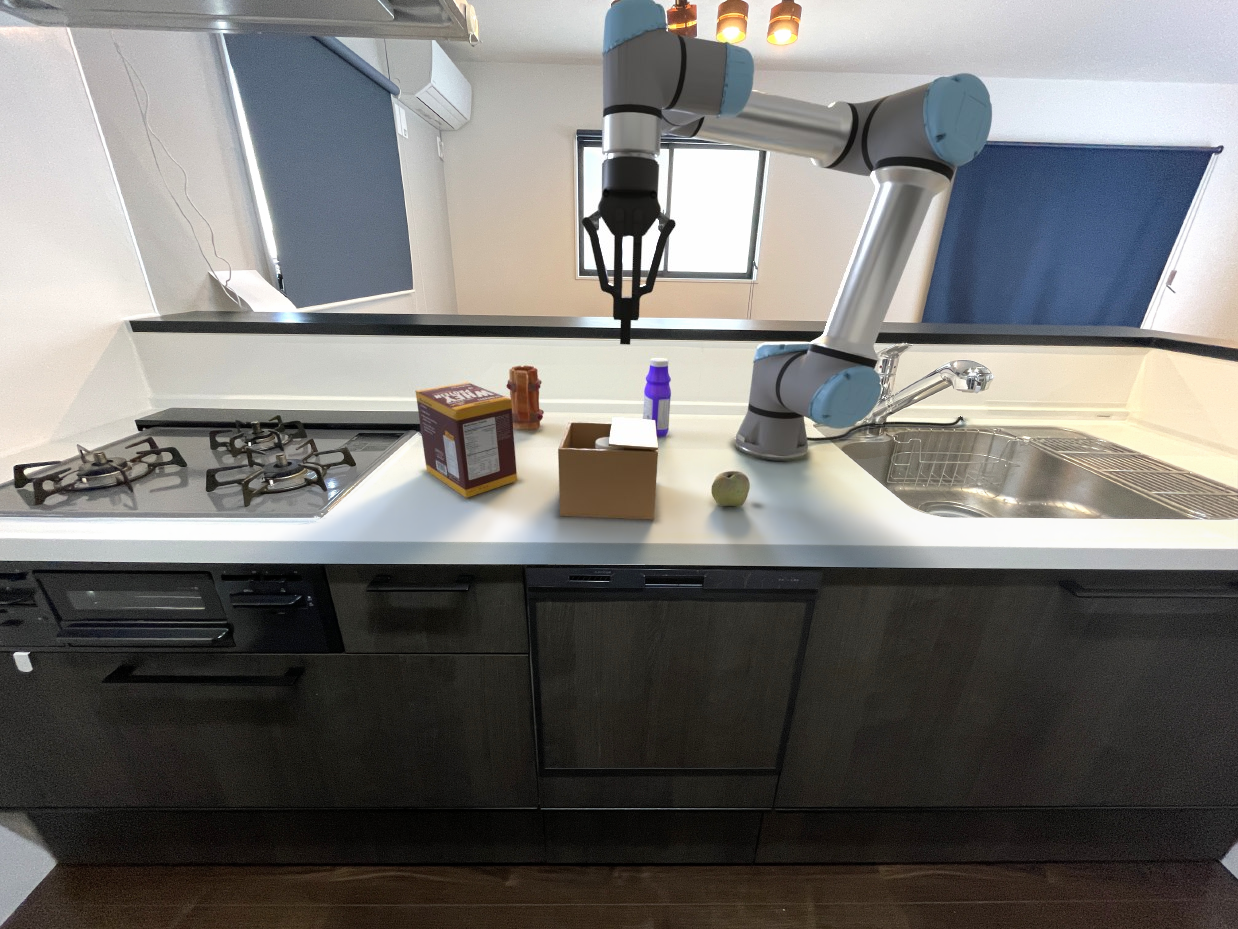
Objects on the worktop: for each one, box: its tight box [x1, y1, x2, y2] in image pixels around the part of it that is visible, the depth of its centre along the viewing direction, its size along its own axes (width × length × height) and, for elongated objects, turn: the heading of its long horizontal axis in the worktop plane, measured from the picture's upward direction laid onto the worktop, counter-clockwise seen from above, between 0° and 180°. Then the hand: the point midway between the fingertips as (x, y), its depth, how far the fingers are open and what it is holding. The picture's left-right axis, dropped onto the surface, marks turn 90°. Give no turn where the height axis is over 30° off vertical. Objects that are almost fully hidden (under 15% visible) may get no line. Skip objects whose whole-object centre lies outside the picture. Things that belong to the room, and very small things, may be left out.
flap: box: [609, 416, 659, 451], centre depth 79 cm, size 7×13×1 cm, turn 178°
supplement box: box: [414, 381, 518, 499], centre depth 88 cm, size 10×15×16 cm
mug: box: [505, 364, 545, 431], centre depth 111 cm, size 15×8×15 cm, turn 6°
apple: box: [710, 470, 751, 508], centre depth 82 cm, size 6×8×6 cm
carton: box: [557, 421, 659, 520], centre depth 82 cm, size 15×13×12 cm
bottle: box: [642, 357, 672, 438], centre depth 112 cm, size 7×6×17 cm
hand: (625, 342), depth 74 cm, fingers closed
